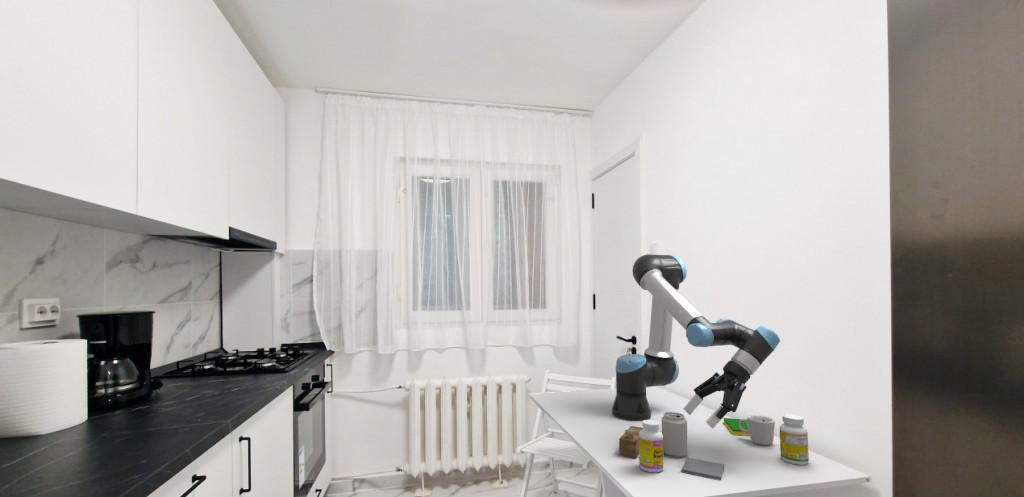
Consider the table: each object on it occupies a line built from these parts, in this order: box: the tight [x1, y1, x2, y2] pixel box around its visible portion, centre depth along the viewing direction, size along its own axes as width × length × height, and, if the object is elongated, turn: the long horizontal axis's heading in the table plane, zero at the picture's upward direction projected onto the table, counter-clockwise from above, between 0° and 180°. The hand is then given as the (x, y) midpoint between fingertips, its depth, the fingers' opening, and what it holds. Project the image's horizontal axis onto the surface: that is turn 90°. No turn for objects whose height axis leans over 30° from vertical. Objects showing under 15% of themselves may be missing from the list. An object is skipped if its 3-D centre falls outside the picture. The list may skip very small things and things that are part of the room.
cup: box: [739, 414, 776, 446], centre depth 147 cm, size 11×8×8 cm
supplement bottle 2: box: [779, 413, 810, 466], centre depth 132 cm, size 7×7×13 cm
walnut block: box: [618, 425, 643, 460], centre depth 140 cm, size 14×5×7 cm, turn 150°
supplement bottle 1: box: [638, 419, 664, 473], centre depth 126 cm, size 7×7×13 cm
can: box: [661, 411, 689, 458], centre depth 137 cm, size 8×8×12 cm
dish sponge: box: [722, 417, 750, 437], centre depth 160 cm, size 7×14×2 cm, turn 167°
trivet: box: [681, 456, 725, 481], centre depth 125 cm, size 10×10×1 cm
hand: (697, 418), depth 137 cm, fingers open, 13 cm apart
